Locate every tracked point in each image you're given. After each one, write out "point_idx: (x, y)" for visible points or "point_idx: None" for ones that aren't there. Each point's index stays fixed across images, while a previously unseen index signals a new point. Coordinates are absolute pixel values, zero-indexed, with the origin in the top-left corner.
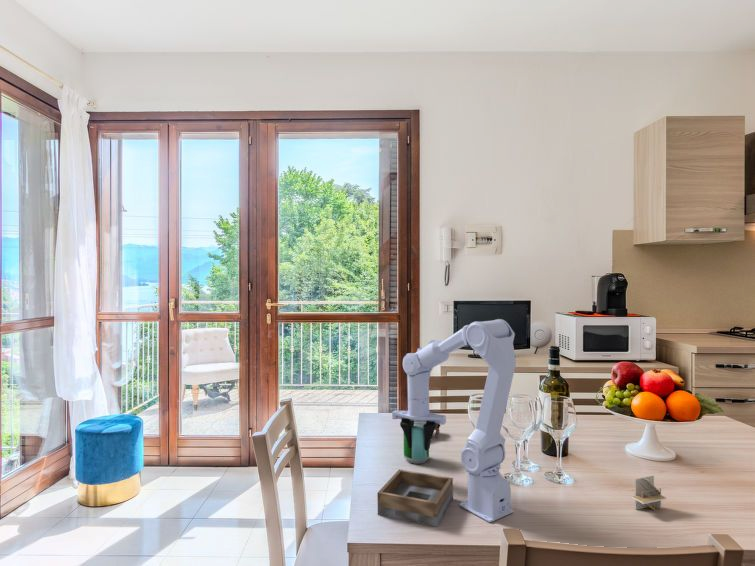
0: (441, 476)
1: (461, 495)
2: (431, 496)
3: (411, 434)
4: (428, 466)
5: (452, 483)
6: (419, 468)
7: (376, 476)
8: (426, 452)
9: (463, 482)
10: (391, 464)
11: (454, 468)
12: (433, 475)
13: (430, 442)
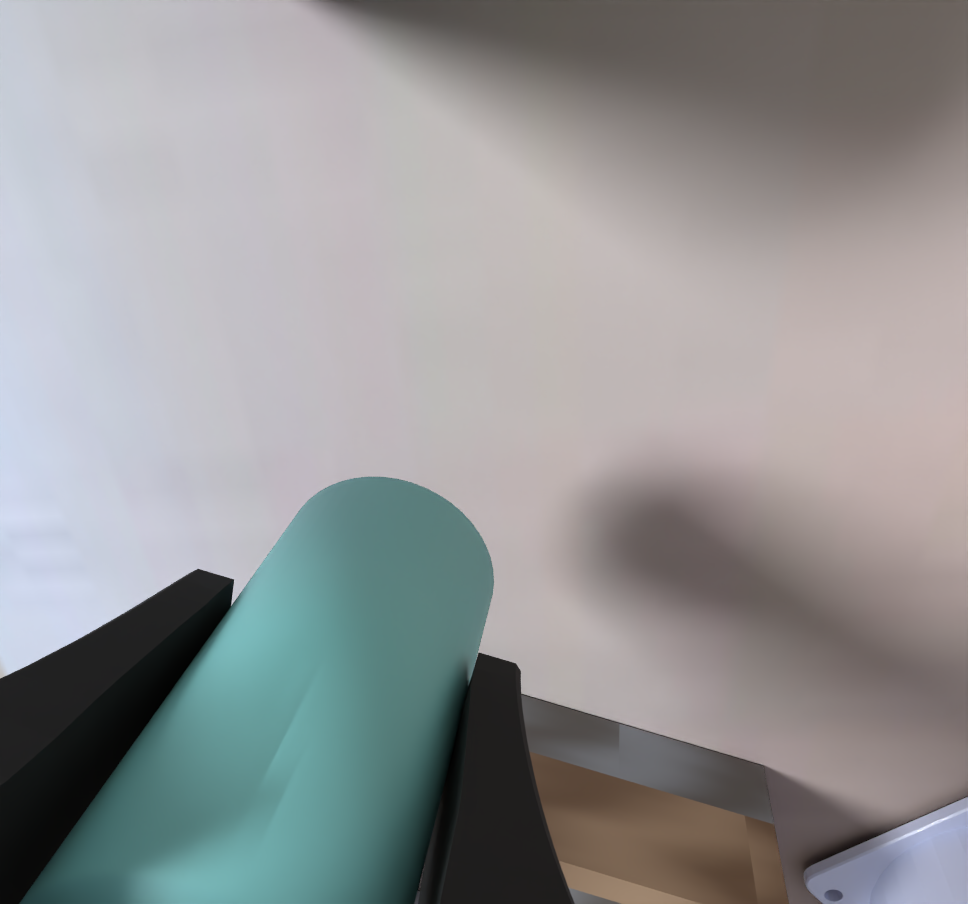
0: (675, 900)
1: (852, 720)
2: (577, 896)
3: (99, 781)
4: (528, 35)
5: (780, 890)
6: (413, 128)
7: (17, 401)
8: (477, 651)
9: (940, 477)
10: (38, 39)
11: (916, 56)
12: (591, 877)
13: (523, 727)
